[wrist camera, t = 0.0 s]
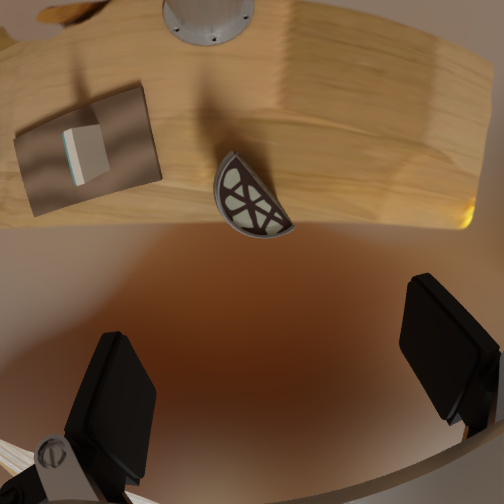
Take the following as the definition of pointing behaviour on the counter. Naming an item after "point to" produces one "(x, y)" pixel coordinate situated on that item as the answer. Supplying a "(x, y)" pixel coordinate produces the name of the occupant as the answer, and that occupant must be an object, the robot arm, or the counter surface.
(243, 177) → the food container
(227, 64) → the counter surface
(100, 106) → the board
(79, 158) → the tile
